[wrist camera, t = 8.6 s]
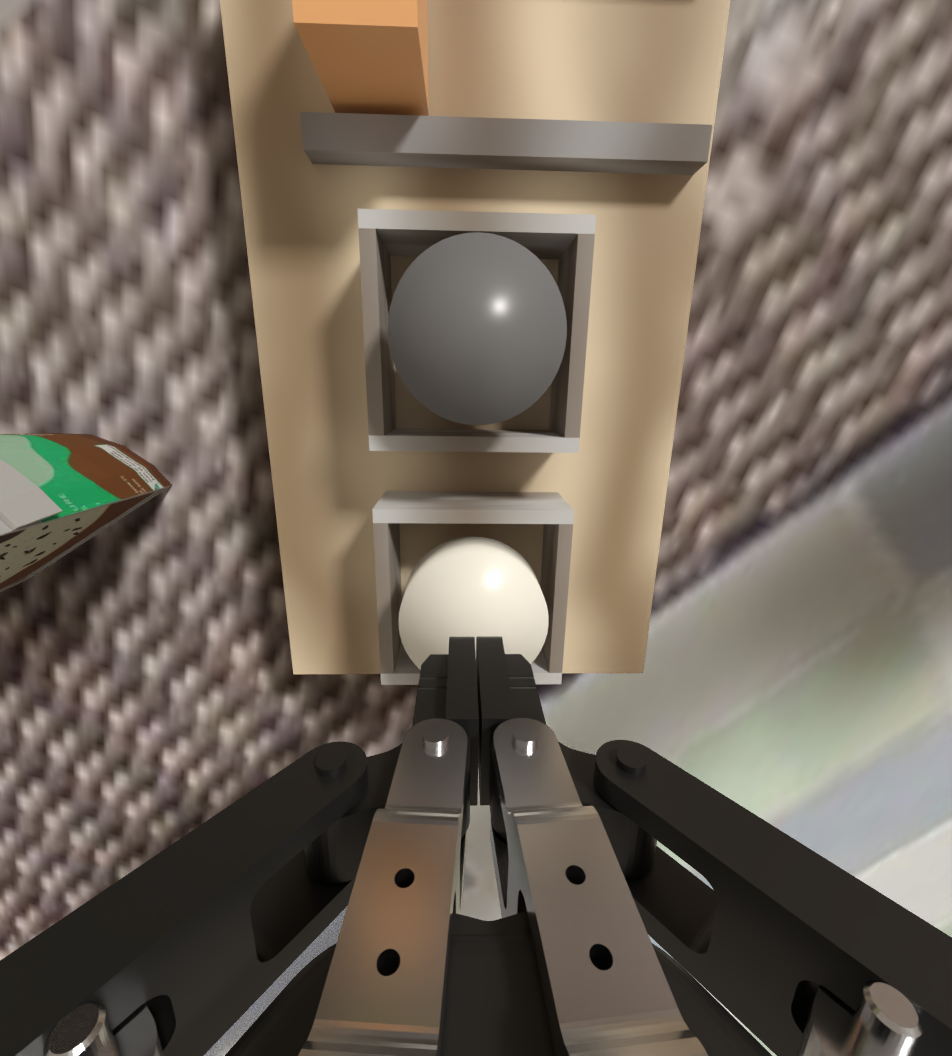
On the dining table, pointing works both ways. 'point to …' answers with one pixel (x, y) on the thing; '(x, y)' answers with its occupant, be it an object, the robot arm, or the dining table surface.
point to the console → (468, 207)
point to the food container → (64, 496)
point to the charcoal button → (477, 328)
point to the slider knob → (368, 53)
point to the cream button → (472, 599)
